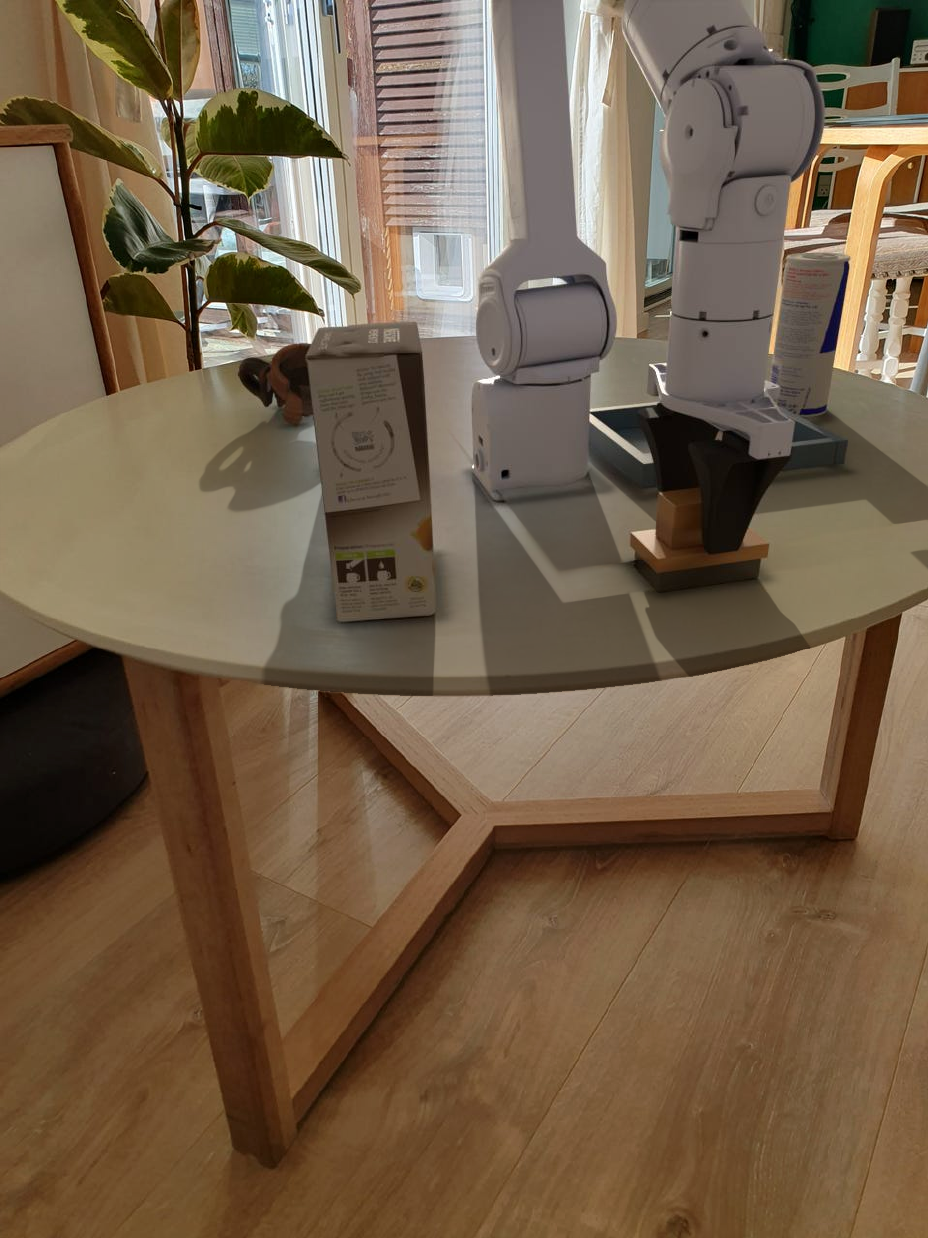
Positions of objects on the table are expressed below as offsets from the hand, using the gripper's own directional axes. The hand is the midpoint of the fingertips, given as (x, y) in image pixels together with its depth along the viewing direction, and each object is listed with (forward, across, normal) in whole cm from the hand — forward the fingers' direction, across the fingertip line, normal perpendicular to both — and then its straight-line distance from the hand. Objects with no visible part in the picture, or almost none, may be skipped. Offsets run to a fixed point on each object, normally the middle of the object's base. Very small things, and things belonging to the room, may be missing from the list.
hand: (699, 531), depth 57 cm
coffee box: (+3, +4, +20) cm, 21 cm away
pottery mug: (+3, +48, +23) cm, 53 cm away
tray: (+3, +22, -11) cm, 24 cm away
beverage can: (+3, +29, -25) cm, 38 cm away
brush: (+3, 0, 0) cm, 3 cm away
